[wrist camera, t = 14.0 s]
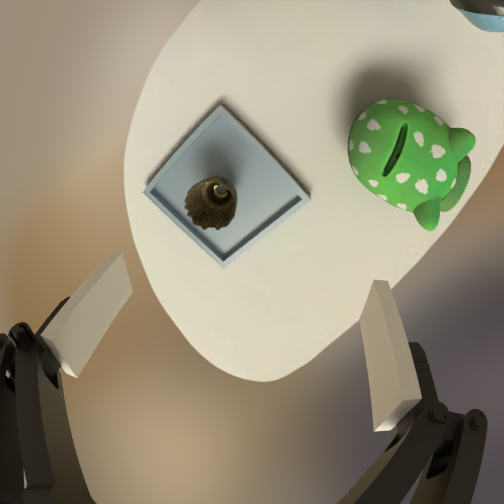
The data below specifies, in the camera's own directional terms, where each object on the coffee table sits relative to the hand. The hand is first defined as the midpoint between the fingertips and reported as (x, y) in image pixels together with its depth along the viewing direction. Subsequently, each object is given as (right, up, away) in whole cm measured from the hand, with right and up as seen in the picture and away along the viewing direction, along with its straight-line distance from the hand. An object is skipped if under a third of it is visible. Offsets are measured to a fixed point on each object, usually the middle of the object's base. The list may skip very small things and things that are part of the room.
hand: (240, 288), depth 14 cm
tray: (-4, +12, +32) cm, 34 cm away
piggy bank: (+23, +18, +24) cm, 38 cm away
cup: (-4, +12, +31) cm, 34 cm away
